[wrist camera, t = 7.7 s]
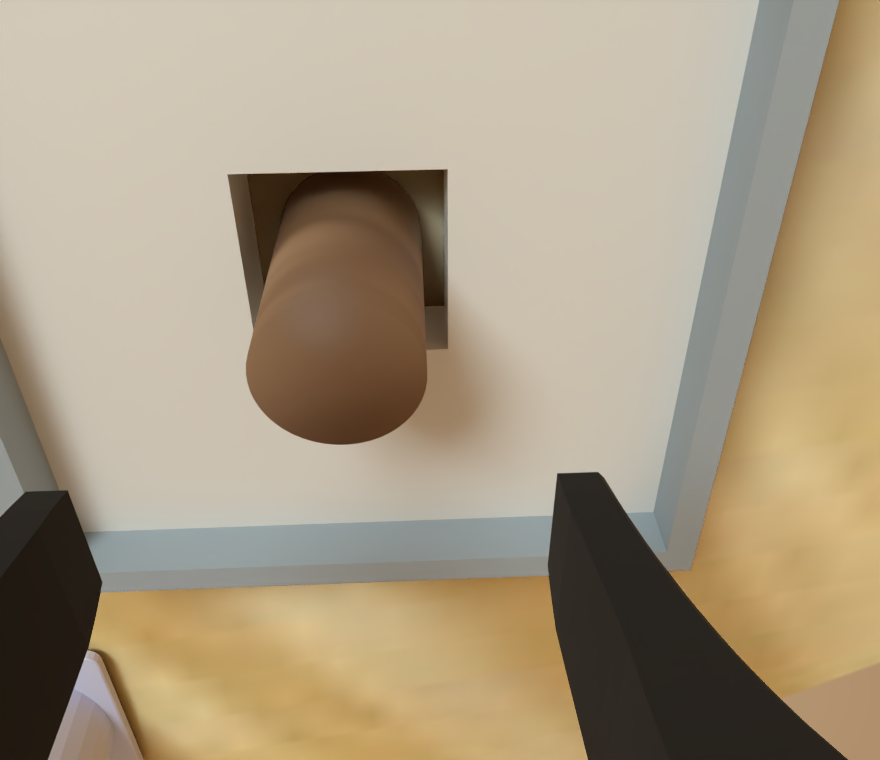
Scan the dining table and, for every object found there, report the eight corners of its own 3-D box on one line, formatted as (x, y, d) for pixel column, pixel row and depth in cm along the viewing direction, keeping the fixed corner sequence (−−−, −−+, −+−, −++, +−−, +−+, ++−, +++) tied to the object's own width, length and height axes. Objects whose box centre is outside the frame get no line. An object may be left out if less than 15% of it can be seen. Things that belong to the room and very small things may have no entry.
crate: (76, 502, 26) (36, 594, 23) (-196, -221, 15) (-333, -214, 12) (659, 482, 26) (690, 570, 23) (806, -231, 15) (898, -226, 13)
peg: (293, 295, 22) (263, 450, 17) (270, 170, 20) (228, 305, 15) (424, 286, 22) (432, 438, 17) (415, 160, 20) (420, 293, 15)
